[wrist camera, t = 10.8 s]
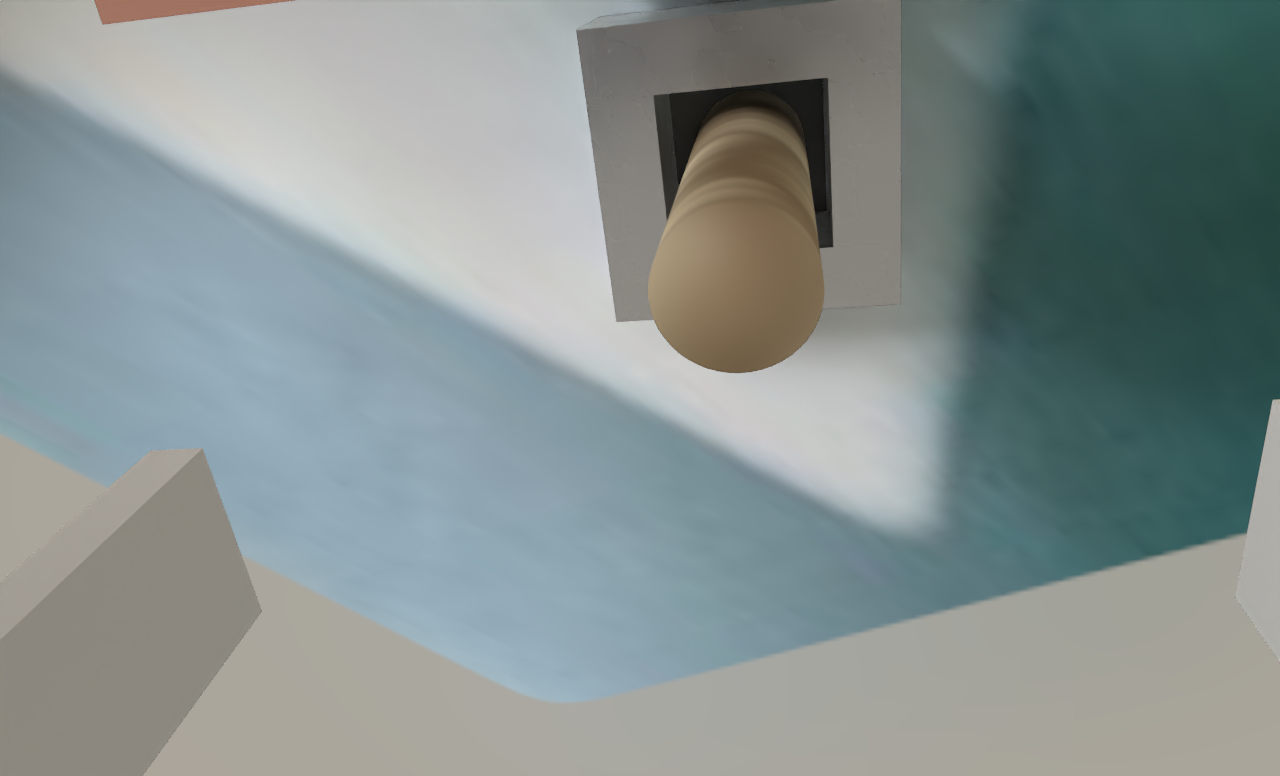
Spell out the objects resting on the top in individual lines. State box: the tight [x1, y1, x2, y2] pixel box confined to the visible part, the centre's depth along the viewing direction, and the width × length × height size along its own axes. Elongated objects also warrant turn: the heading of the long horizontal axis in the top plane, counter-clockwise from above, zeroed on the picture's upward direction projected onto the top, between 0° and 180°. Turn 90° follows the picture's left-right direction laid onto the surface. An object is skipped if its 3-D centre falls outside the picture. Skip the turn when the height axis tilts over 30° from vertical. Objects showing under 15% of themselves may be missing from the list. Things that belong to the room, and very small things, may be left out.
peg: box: [648, 90, 825, 373], centre depth 26 cm, size 4×4×14 cm
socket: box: [576, 0, 901, 322], centre depth 30 cm, size 9×9×4 cm
